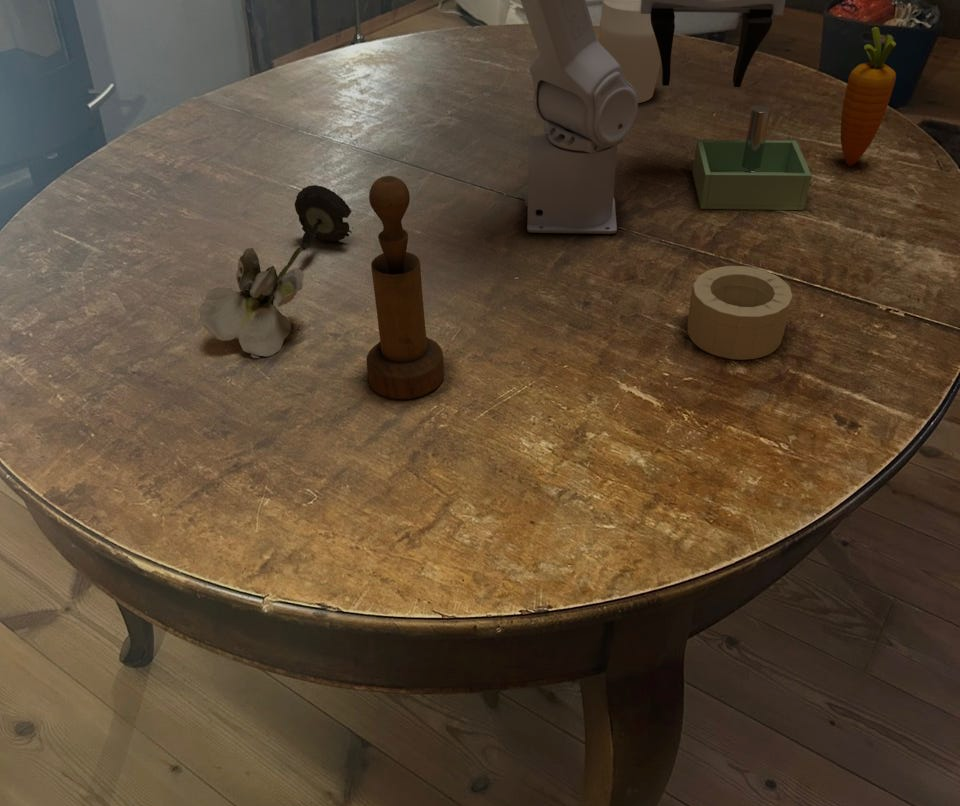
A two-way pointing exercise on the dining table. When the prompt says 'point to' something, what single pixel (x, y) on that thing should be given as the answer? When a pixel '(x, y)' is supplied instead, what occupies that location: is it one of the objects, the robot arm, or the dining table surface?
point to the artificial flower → (272, 281)
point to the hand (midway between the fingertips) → (700, 83)
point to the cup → (631, 44)
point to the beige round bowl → (738, 312)
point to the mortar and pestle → (399, 305)
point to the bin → (750, 176)
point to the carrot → (866, 99)
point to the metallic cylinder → (756, 138)
